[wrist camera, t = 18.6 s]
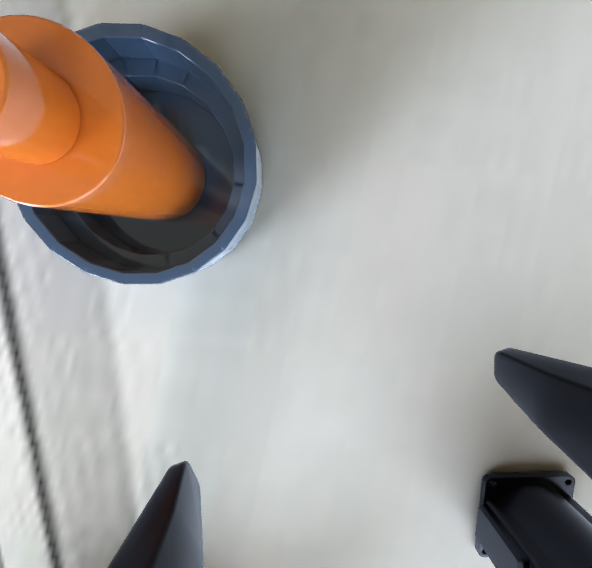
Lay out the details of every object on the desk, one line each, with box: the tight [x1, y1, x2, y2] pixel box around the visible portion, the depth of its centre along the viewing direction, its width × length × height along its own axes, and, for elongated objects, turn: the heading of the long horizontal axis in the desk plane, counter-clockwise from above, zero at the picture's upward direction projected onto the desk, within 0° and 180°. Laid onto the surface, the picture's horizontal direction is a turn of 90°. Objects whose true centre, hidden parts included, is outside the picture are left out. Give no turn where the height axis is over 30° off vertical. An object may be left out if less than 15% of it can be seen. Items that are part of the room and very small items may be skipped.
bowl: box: [17, 23, 262, 284], centre depth 17 cm, size 12×12×4 cm
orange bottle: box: [0, 15, 205, 221], centre depth 13 cm, size 5×5×12 cm
